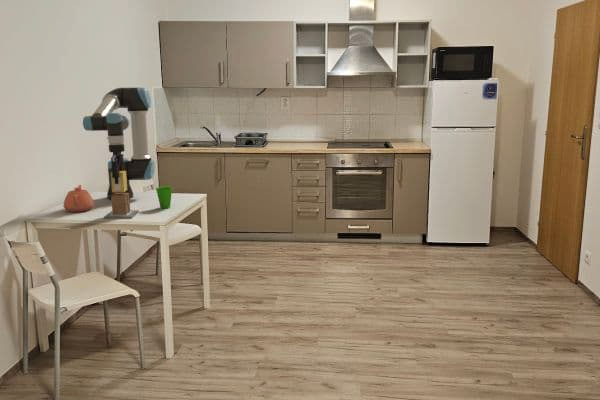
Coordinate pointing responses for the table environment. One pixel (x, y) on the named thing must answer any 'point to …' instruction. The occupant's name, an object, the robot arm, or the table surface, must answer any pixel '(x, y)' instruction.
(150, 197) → the table surface
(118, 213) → the walnut block
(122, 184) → the mustard block
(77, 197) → the orange rounded lump
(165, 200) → the cup
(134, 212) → the board
